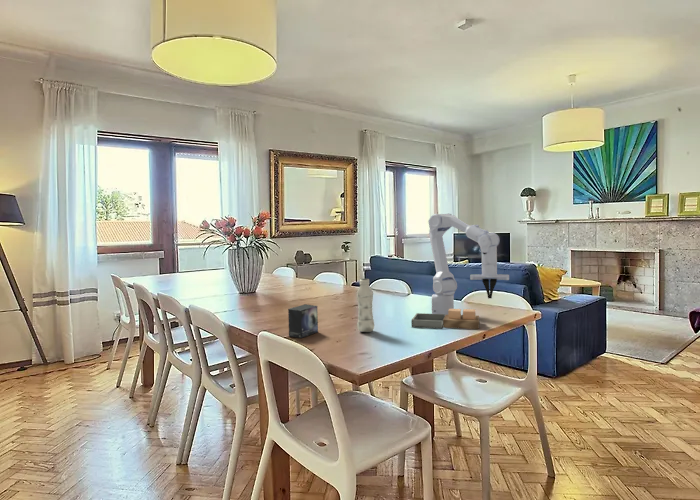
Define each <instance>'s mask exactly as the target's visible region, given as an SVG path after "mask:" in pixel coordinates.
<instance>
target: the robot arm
mask: <svg viewBox="0 0 700 500" xmlns="http://www.w3.org/2000/svg"><path fill="white" fill-rule="evenodd" d="M427 223H428V226H429V230H428V231H429V233H428V234H429V236H428V237H429V240H430V241H429V242H430V246H431V251H432V256H433V262H434V267H435V272H436V273H435V275H434V276H433V277H432V280H433V281H432V283H433V284H432V290H433V292H434V293H433V294H432V295H431V314H445V315H448V311H449V309H455V306H454V305H455V304H454V303H455V301H454V299H455V298H454V297H455V292H456V291H457V289H458V283H457V280H456V279H455V276H454V274H453V273H452V272H451V271H450V269H449V264H448V257H447V253H446V249H445V248H446V247H445V243H444V242H445V241H444V238H443V236H444V235H445V234H446V232H448V231H449V230H450V229H451V228H452V227H453V228H454V229H457V230H460V231H461V232H463V233H465V236H466V237H467V239H470V240H472V241H474V242H475V243H478V244H477V245H478V246H479V247H480V253H481V273H479V274H470V276H469V280H471V281H475V280H477V281H478V280H481V282H482V284H483V286H484V288H485V291H486V294H487V299H493V291H494V290H495V286H496V285H497V283H498V281H501V280H502V281H503V280H504V281H509V280H510V274H500V273H499V274H498V253H497V252H498V249H497V247H498V246H499V245H500V240H501V239H500V236H499V235H498V234H497V233H496V232H489V230H488V229H484V228H481V227H480V225H479V224H468V223H466V222H465V221H464V220H461V219H460V218H458V217H457V216H456V215H454V214H452V213H432V215H431V216H430V218H429V219H428V221H427Z"/></svg>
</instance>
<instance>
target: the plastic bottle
mask: <svg viewBox="0 0 700 500" xmlns="http://www.w3.org/2000/svg"><path fill="white" fill-rule="evenodd" d="M370 284H371V283H370V279H369V278H360V279H359V287H358V289H357V291H356V301H357V308H358V309H357V310H358V314H357V317H358V318H357V324H356V326H357V330H358V331H359V332H361V333H370V332H373V331H374V329H375V321H374V316H373V315H374V314H373V313H374V312H373V300H374V291H373V290H372V287H370Z"/></svg>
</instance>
